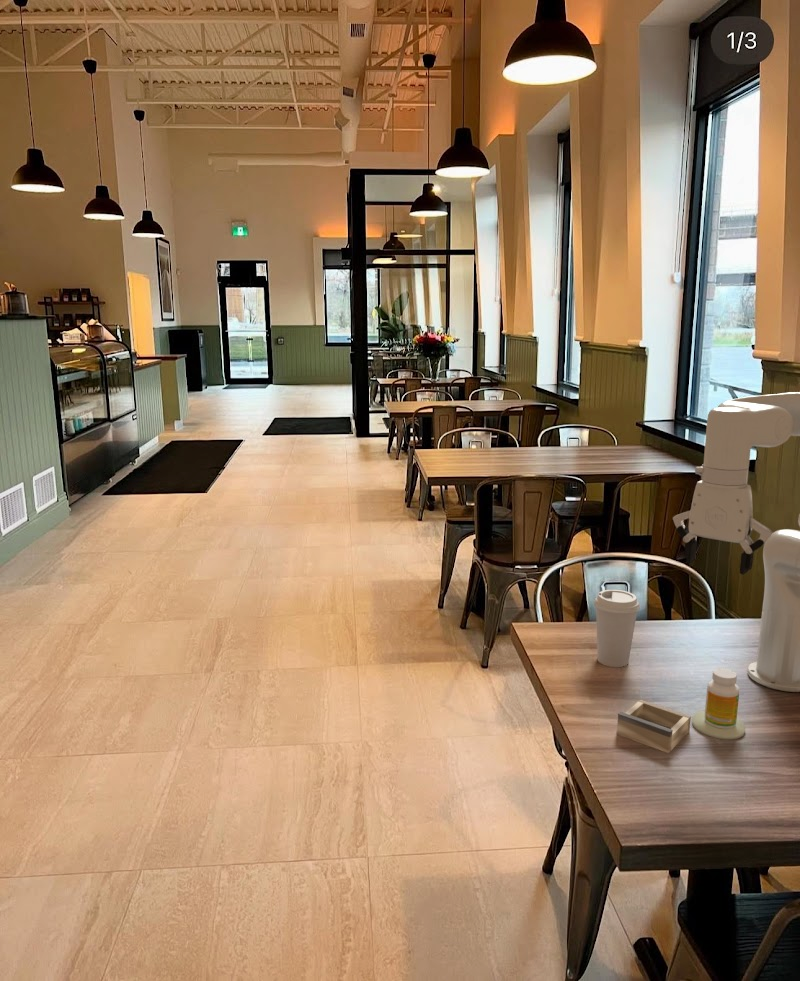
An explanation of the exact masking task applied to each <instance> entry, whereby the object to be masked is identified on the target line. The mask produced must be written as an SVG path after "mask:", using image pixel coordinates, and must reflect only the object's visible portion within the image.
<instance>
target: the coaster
mask: <svg viewBox="0 0 800 981" xmlns="http://www.w3.org/2000/svg"><path fill="white" fill-rule="evenodd" d="M691 724H692V726H693V728H694V729H695V730H696V731H699V733H701V734H703V735H706V736H708V737H711V738H714V739H720V740H735V739H736V740H737V739H739V738H741V737H743V736H744V735H745V733H746V725H745V723H744V722H743V721H742V720H741V719H740V718H739V717H737V721H736V725H735V727H733V728H731V729H720V728H716V727H713V726H711V725H709V724H708V723H707V722H706V721H705V709H704V710H700V711H696V712H695V713H693V715H692V716H691Z"/></svg>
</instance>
